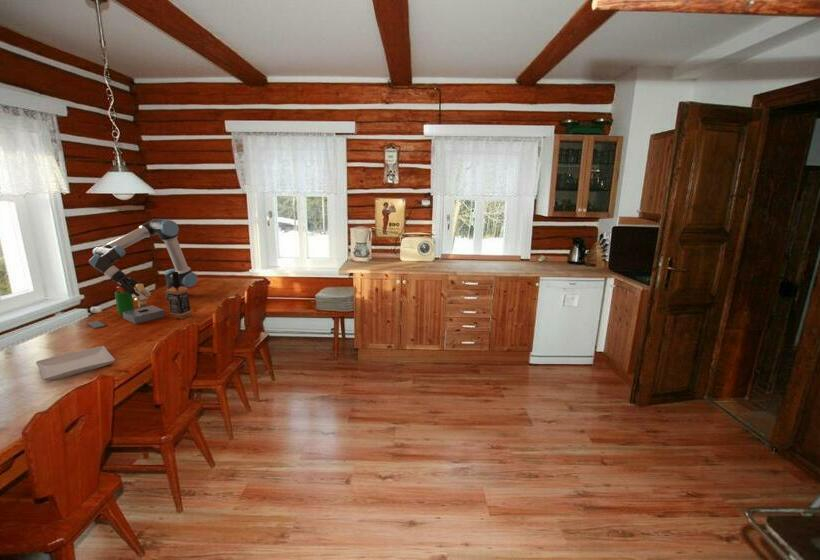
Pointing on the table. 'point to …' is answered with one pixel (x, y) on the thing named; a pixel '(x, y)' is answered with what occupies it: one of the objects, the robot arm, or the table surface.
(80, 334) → the table surface
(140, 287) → the brass flanged peg
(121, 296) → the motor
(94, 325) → the charcoal mat
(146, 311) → the plate
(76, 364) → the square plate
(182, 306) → the whiskey bottle
